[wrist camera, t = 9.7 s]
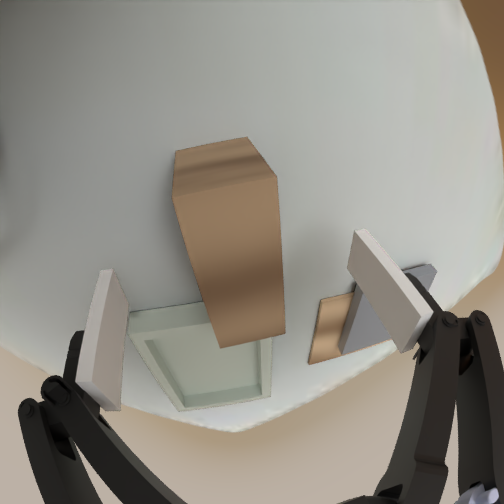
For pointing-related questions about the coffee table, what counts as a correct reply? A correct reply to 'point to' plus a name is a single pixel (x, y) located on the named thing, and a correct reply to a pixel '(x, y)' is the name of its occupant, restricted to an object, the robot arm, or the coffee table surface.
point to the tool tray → (199, 358)
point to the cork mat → (330, 328)
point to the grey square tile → (373, 316)
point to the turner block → (232, 237)
